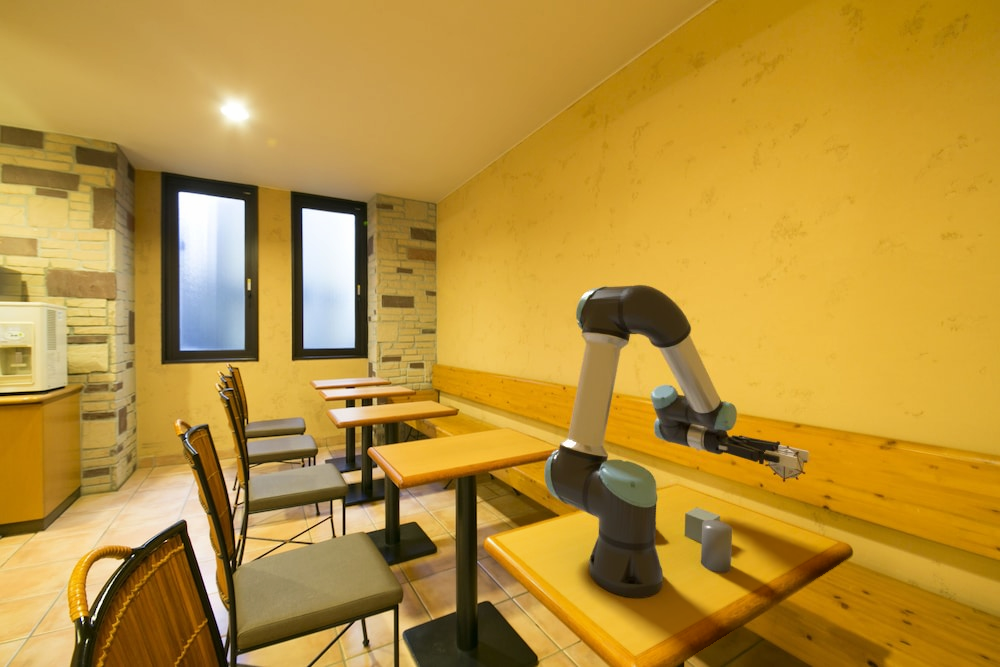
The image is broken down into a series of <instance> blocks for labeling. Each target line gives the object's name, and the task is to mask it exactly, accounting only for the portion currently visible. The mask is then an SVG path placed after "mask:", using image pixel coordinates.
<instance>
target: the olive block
mask: <svg viewBox="0 0 1000 667" xmlns="http://www.w3.org/2000/svg"><path fill="white" fill-rule="evenodd" d="M684 519H685V520H684V537H687V538H688V539H690V540H693V541H694V542H695V541H696V542H698V543H700V544H702V522H703V521H705V520H716V521H720V522H721V515H719V514H716V513H714V512H711V511H708V510H705V509H702V508H700V507H695V508H693V509H691V510H689V511H687V512H685V515H684Z"/></svg>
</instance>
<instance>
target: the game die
mask: <svg viewBox="0 0 1000 667" xmlns="http://www.w3.org/2000/svg"><path fill="white" fill-rule="evenodd" d="M789 447H790V446H789V445H787V448H786V449H776V447H774V448H773V449H774V450H775V451H774V452H776V453H780V454H785V455H789V456H794V457H797V467H796V469H793V468H789V467H785V466H781V465H777V464H773V463H769V462H767V463H766V464H764V466H765V467H769V468H770V469H771V470H772V471H773V475H774V476H776V475H778V476H779V477H781V478H782V482H783V483H785V482H786V480H788V479H796V480H797V481H799V478H798V477H799V476H800V475H801V474H803V475H806V472H805V471H804V464H805V463H808V462H807V461H803V460H802V459H801V458H800V457H799V455H798V454H799V451H797V452H796V453H795V452H793V451H792V450H790V449H788V448H789Z"/></svg>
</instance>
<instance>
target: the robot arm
mask: <svg viewBox="0 0 1000 667" xmlns="http://www.w3.org/2000/svg"><path fill="white" fill-rule="evenodd" d="M576 306H577V307H576V311H575V319H576V320H577V321H576V324H577V325H578V327H579V328H580V330H582V331H581V337H582V338H583V340H584V342H585V347H584V352H583V358H582V363H581V368H580V373H579V376H578V384H577V388H576V394H575V398H574V403H573V407H572V408H573V409H572V413H571V414H572V415H571V419H570V424H569V429H568V435H567V438H566V439H564V440H562V441H561V442H559V449H556V450H554V451H553V452H552V453H551V454H550V456H548V458H547V460H546V462H545V466H544V470H543V471H544V483H545V486H546V488H547V490H548V492H549V493H550V494H551V495H552V496H553V497H555V498H556V499H557V500H559V501H560V502H561V503H563V504H565V505H569V506H571V507H574V508H576V509H578V510H581V511H582V512H585V513H587V514H589V515H591V516H593V517H595V518H597V519H598V533H597V534H598V536H597V538H596V541H595V544H594V546H593V548H592V551H591V554H590V557H589V562H588V563H589V567H588V568H589V569H588V570H589V575H590V577H591V579H592V580H593V581H594V582H595V583H596V584H597V585H598V586H599V587H601V588H602V589H604V590H606V591H607V592H608V591H609V592H610V593H613V594H615V595H618V596H623V597H627V598H635V599H636V598H646V597H650V596H654V595H655V594H657V593H658V592H660V591H661V589H662V588H663V580H664V579H663V577H664V573H663V568H662V566H661V562H660V559H659V555H658V551H657V548H656V534H655V526H657V502H658V494H657V481H656V479H655V476H654V475H653V474H652V472H651V471H650V470H648V469H647V468H645V467H644V466H642V465H640V464H637V463H635V462H632V461H629V460H626V461H624V460H622V459H608V458H609V453H608V451H607V450H606V449H605V446H604V443H605V438H606V431H607V426H608V421H609V416H610V415H609V414H610V410H611V405H612V399H613V394H614V388H615V382H616V378H617V372H618V366H619V361H620V356H621V350H623V348H624V347H626V346H628V345H629V342H630V337H631V335H641V336H643V337H646V338H647V339H648V340H649V342H650V343H651V344H650V345H652V346H653V347H656V348H657V349H659V351H660V353H661V355H662V356H663V358H664V360H665V362H666V364H667V365H668V367H669V369H670V371H671V373H672V374H673V376H674V379H675V380H676V382H677V384H678V385H679V388H680V389H681V391H682V393H683V394H684V395H682V394H679V392H678V390H677V389H676V388H675V387H674V386H673V385H671V384H662V385H658V386H656V387H655V388H654V389H653V390H652V391H651V393H650V399H651V403H652V407H653V409H654V411H655V414H656V419H655V421H654V424H653V428H654V430H653V432H654V435H655V436H656V438H657V439H659V440H663V441H665V442H666V443H667V442H668V443H672V444H676V445H680V446H683V447H688V448H693V449H695V451H697V452H699V451H706V452H708V453H711V454H715V455H722V454H723V453H724V454H728V455H732V456H735V457H738V458H741V459H744V460H749V461H751V462H754V463H758V464H759V465H765V463H773V464H777V465H781V466H785V467H789V468H793V469H796V467H797V457H794V456H789V455H785V454H780V453H776V452H774V451H775V450H774V449H773V448H774V447H776V449H786V448H787V446H788V445H787V446H786V445H781V442H780V441H779V440H777V441H776V442H775V441H771V440H770V441H769V440H766V439H765V440H764V439H760V438H759V439H758V438H753V437H748V436H745V435H731V436H730V435H729V434H728V432H729V431H731V430H733V428H734V427H735V425H736V422H737V419H738V412H737V411H738V410H737V408H736V406H735V405H734V404H733V403H732V402H731V403H730V402H727V401H725V400H724V401H722V399H721V398H720V396H719V393H718V392H717V389H716V387H715V385H714V383H713V381H712V379H711V377H710V375H709V372H708V370H707V368H706V367H705V364H704V362H703V360H702V358H701V356H700V354H699V351H698V350H697V347H696V345H695V344H694V341H693V339H692V337H691V332H692V327H691V324H690V322H689V319H688V318H687V316H686V314H685V313H684V312H683V310H682V308H680V306H679V305H678V304H677V303H676V302H675V301H674V300H673V299H672V298H671V297H670V296H668V295H667V294H665V293H664V292H662V291H661V290H659V289H658V288H656V287H653V286H650V285H646V284H645V285H644V284H635V285H621V286H606V285H605V286H601V287H595V288H591V289H590V290H588V291H586V292H584V294H583V295H582V296H581V297H580V299H579V300H578V303H577V305H576ZM788 449H790V450H792V451H793V452H795V453H796V452H797V451H799V454H798V455H799V457H800V458H801V459H802V460H803V461H807V463H809V459H810V458H809V457H810V451H809V450H804V449H800V448H796V447H791V446H789V448H788ZM764 462H765V463H764Z"/></svg>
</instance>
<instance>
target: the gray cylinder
mask: <svg viewBox="0 0 1000 667" xmlns="http://www.w3.org/2000/svg"><path fill="white" fill-rule="evenodd" d="M732 544H733V527H732V526H730V525H729V524H727V523H725V522H723V521H721V520H720V521H716V520H705V521H703V522H702V543H701V546H700V548H701V550H700V551H701V552H700V563H701V565H702V566H703V567H704V568H705V569H707V570H709V571H710V572H713V573H717V574H727V573H728V574H729V573H730V571H731V569H732V567H731V566H732V549H733V548H732Z"/></svg>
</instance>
